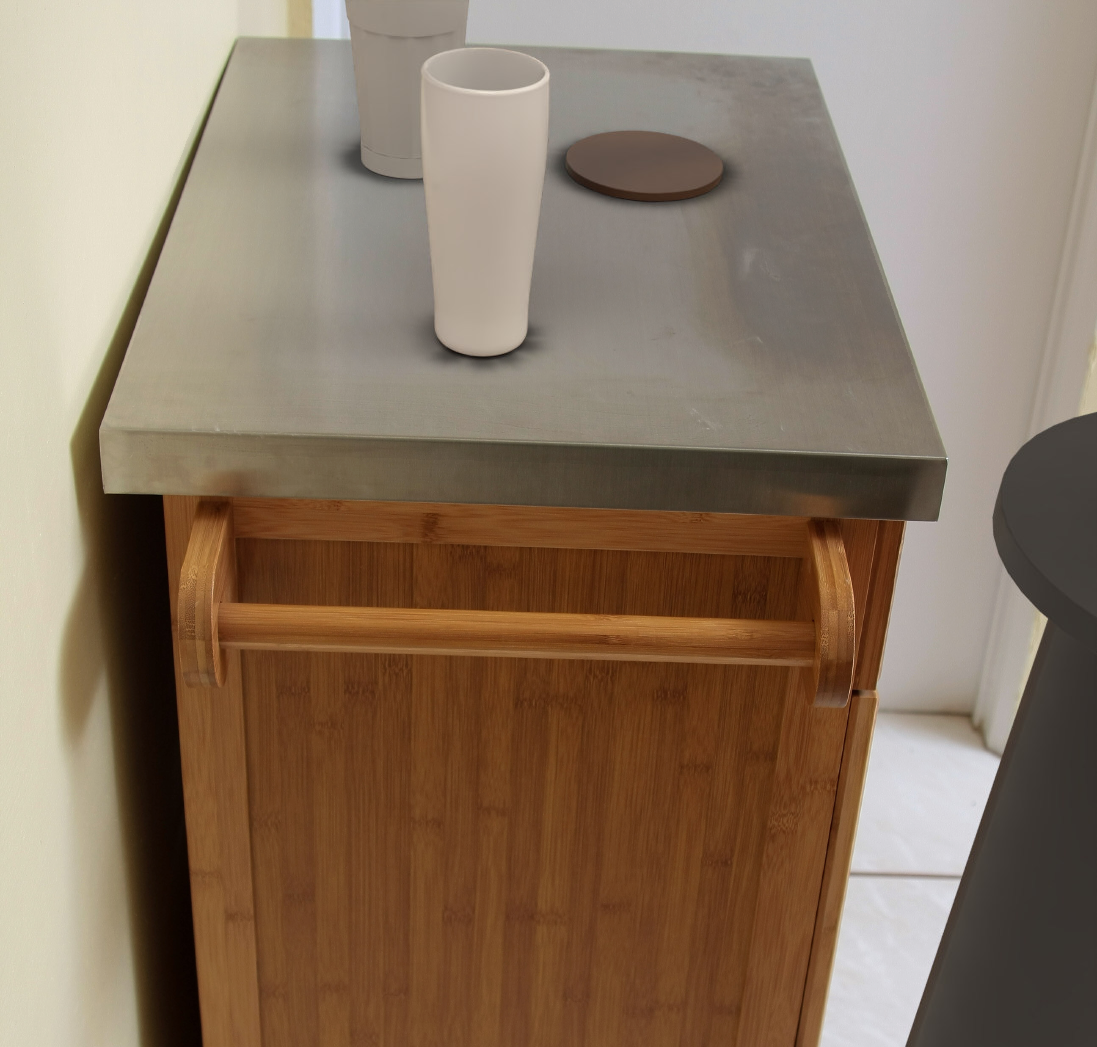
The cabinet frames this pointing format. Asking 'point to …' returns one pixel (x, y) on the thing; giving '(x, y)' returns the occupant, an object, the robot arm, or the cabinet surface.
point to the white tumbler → (483, 191)
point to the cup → (397, 73)
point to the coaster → (644, 165)
